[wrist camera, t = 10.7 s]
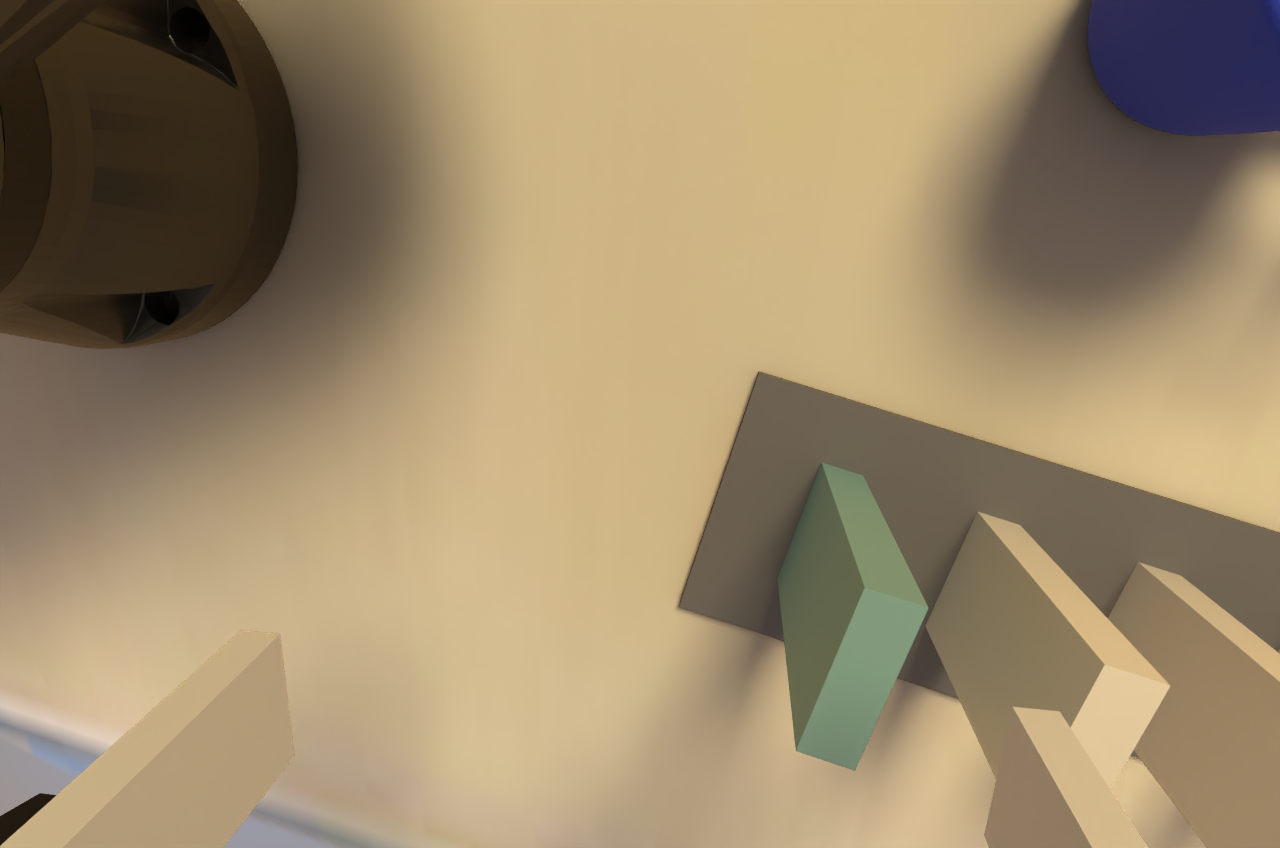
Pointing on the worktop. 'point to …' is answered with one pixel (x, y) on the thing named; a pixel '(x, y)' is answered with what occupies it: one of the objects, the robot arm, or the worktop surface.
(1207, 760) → the domino
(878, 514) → the green domino
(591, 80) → the worktop surface
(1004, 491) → the mat
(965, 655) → the domino
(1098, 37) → the mug
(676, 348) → the worktop surface
